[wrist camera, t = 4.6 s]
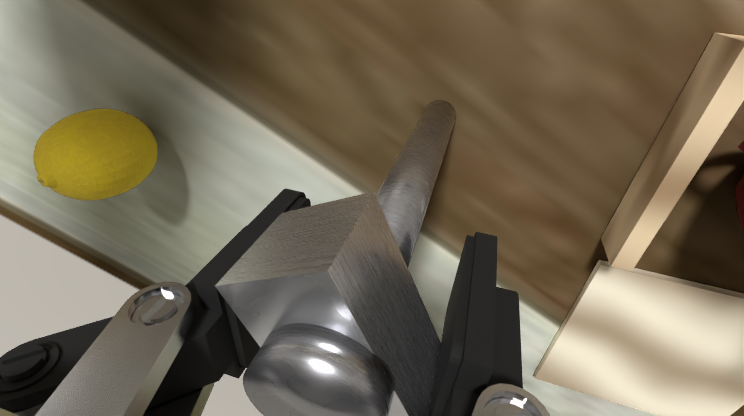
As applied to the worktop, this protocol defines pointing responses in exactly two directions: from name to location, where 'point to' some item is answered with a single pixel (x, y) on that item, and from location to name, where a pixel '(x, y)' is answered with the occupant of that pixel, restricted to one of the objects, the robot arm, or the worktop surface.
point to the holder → (678, 149)
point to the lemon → (95, 154)
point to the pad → (651, 344)
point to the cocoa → (740, 195)
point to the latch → (345, 296)
